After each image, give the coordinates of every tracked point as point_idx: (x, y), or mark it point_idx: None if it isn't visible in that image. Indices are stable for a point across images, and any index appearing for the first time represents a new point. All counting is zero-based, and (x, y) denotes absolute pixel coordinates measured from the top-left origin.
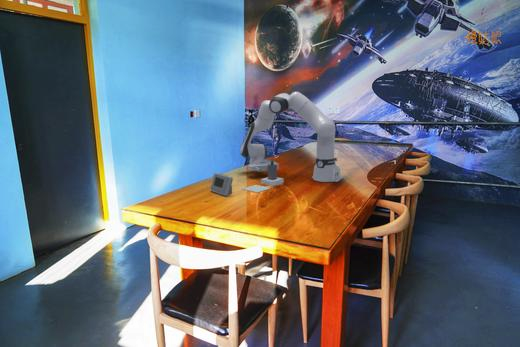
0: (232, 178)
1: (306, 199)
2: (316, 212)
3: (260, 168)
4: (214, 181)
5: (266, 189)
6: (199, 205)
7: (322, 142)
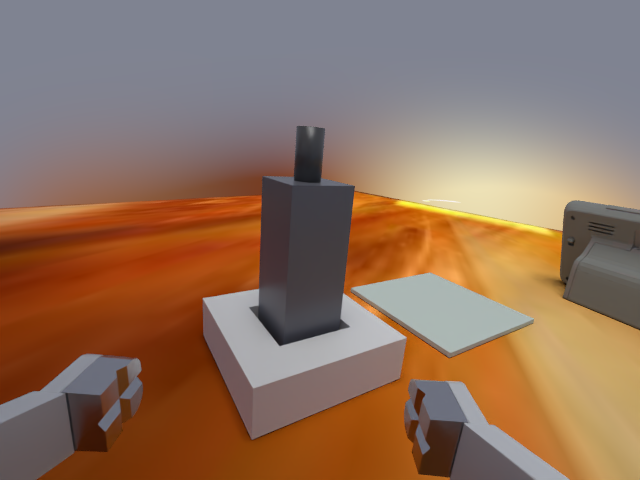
0: (565, 207)
1: None
2: None
3: (418, 381)
4: None
5: (379, 283)
6: None
7: None
